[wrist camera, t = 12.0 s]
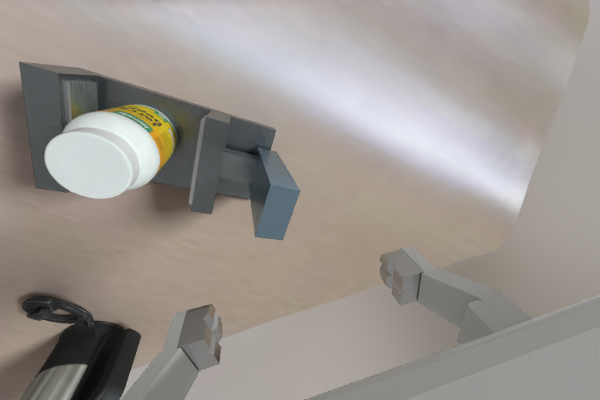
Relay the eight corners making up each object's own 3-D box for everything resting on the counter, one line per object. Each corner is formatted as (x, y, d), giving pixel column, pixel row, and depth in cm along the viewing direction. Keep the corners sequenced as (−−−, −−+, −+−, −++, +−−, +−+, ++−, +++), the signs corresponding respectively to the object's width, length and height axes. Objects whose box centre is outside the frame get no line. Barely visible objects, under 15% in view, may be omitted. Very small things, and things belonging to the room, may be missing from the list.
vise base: (83, 163, 25) (36, 187, 19) (78, 67, 22) (19, 61, 16) (255, 195, 33) (260, 221, 27) (274, 128, 29) (284, 139, 23)
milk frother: (107, 361, 40) (47, 490, 27) (-8, 334, 32) (-167, 499, 19) (159, 314, 38) (121, 429, 25) (50, 274, 30) (-83, 412, 18)
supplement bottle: (113, 156, 25) (33, 203, 15) (110, 95, 22) (12, 104, 12) (177, 167, 27) (144, 214, 17) (181, 112, 24) (144, 131, 15)
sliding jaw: (194, 189, 28) (170, 253, 18) (207, 109, 25) (186, 128, 14) (261, 201, 32) (275, 261, 21) (281, 132, 28) (310, 161, 17)
